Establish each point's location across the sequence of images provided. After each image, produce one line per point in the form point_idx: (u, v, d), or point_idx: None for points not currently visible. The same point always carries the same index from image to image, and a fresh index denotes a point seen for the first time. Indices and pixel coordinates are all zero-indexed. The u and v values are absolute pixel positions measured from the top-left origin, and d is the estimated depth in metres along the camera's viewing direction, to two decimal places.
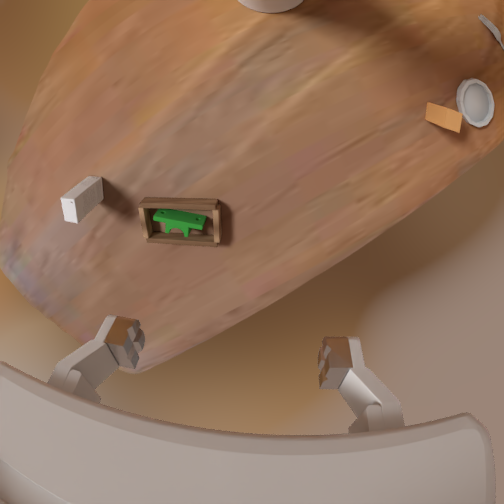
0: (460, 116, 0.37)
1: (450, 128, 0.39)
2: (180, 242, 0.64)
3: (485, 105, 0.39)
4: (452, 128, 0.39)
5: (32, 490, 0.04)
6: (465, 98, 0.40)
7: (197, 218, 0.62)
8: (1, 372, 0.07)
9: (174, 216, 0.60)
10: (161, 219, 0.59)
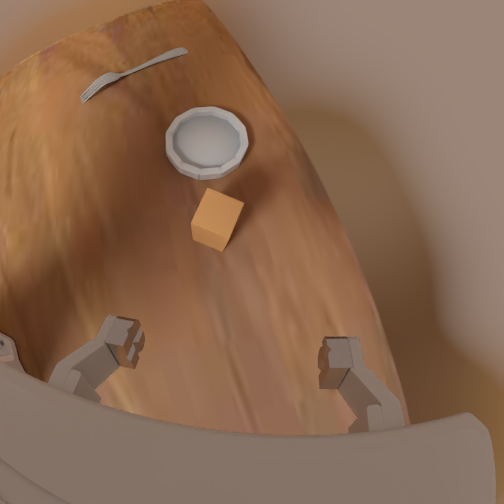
0: (212, 194, 0.28)
1: (232, 223, 0.28)
2: None
3: (214, 122, 0.37)
4: (233, 218, 0.28)
5: (32, 490, 0.04)
6: (196, 160, 0.36)
7: None
8: (1, 372, 0.07)
9: None
10: None
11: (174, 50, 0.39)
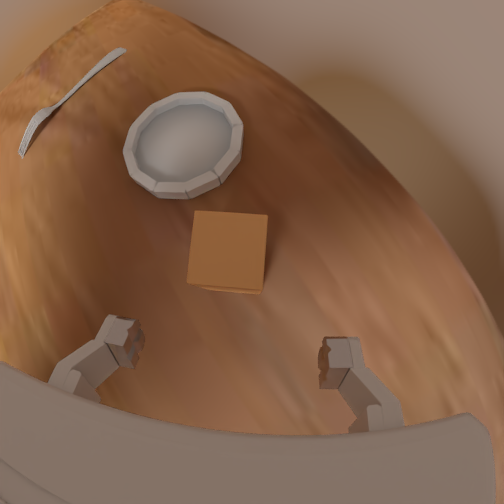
0: (206, 218, 0.15)
1: (259, 259, 0.15)
2: None
3: (185, 113, 0.25)
4: (257, 249, 0.15)
5: (32, 490, 0.04)
6: (177, 172, 0.24)
7: None
8: (1, 372, 0.07)
9: None
10: None
11: (110, 54, 0.28)
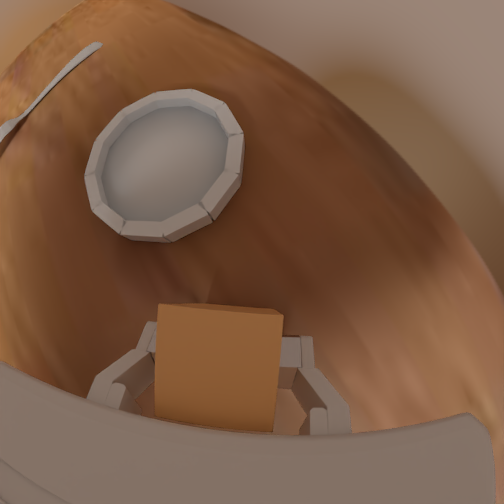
0: (177, 320, 0.09)
1: (268, 389, 0.08)
2: None
3: (165, 119, 0.18)
4: (265, 375, 0.08)
5: (32, 490, 0.04)
6: (154, 205, 0.17)
7: None
8: (1, 372, 0.07)
9: None
10: None
11: (83, 50, 0.21)
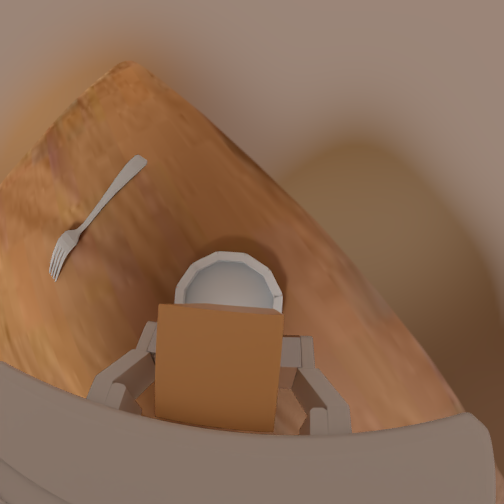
0: (178, 320, 0.09)
1: (269, 389, 0.08)
2: None
3: (226, 273, 0.30)
4: (266, 375, 0.08)
5: (32, 490, 0.04)
6: None
7: None
8: (1, 372, 0.07)
9: None
10: None
11: (128, 165, 0.33)
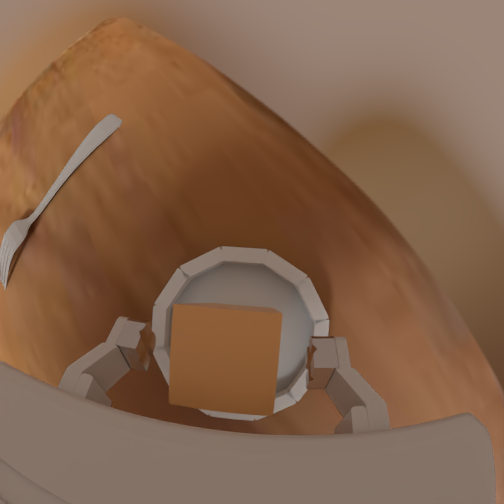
0: (190, 317, 0.10)
1: (269, 378, 0.10)
2: None
3: (236, 282, 0.18)
4: (267, 365, 0.10)
5: (32, 490, 0.04)
6: None
7: None
8: (1, 372, 0.07)
9: None
10: None
11: (97, 128, 0.21)
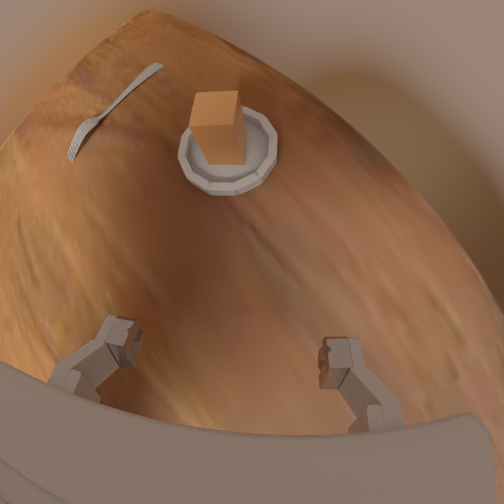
0: (202, 95, 0.23)
1: (232, 110, 0.22)
2: None
3: None
4: (231, 106, 0.23)
5: (32, 490, 0.04)
6: (226, 174, 0.30)
7: None
8: (1, 372, 0.07)
9: None
10: None
11: (147, 69, 0.35)
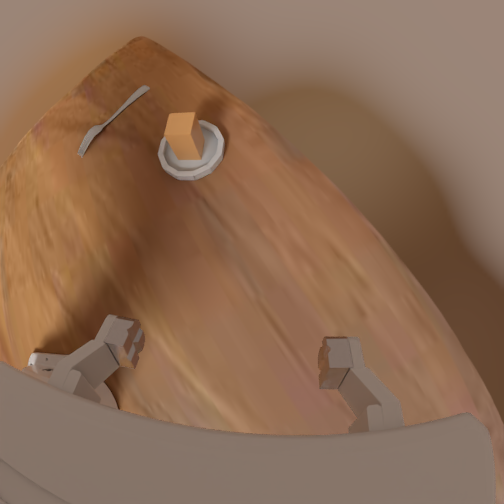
0: (173, 115, 0.37)
1: (190, 125, 0.37)
2: None
3: None
4: (190, 122, 0.37)
5: (32, 490, 0.04)
6: (189, 166, 0.44)
7: None
8: (1, 372, 0.07)
9: None
10: None
11: (138, 90, 0.49)
